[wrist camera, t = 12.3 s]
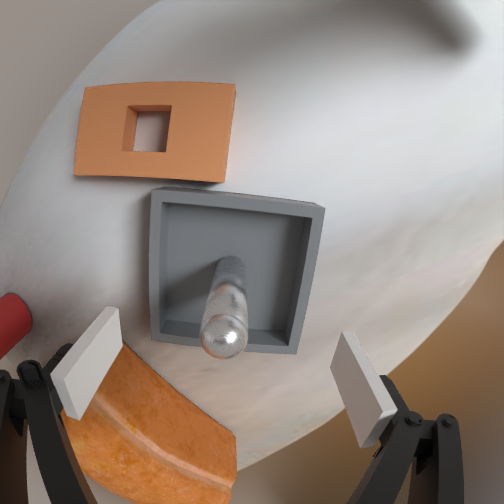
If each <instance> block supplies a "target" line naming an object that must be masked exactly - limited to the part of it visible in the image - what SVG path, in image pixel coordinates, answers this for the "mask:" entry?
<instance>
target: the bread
mask: <svg viewBox="0 0 504 504" xmlns="http://www.w3.org/2000/svg"><path fill="white" fill-rule="evenodd" d="M122 344H123V346H122V348H121V350H120V351H119V353H118V355H117V356H116V358H115V360H114V361H113V363H112V365H111V366H110V368H109V370H108V371H107V373H106V375H105V377H104V378H103V380H102V382H101V383H100V385H99V387H98V389H97V390H96V392H95V394H94V396H93V398H92V399H91V401H90V403H89V405H88V407H87V408H86V410H85V412H84V414H83V416H82V418H81V419H80V420H77V419H74V418H72V417H69V416H67V415H66V413H65V410H64V408H63V410H62V411H61V413H60V414H61V416H62V419H63V422H64V425H65V428H66V431H67V434H68V437H69V440H70V443H71V445H72V448H73V451H74V453H75V456H76V458H77V461H78V463H79V465H80V468H81V470H82V472H83V473H84V474H85V475H87V476H88V477H89V478H91V479H92V480H94V481H95V482H97V483H98V484H100V485H102V486H103V487H104V488H106V489H108V490H109V491H111V492H113V493H114V494H116V495H118V496H120V497H122V498H124V499H127V500H129V501H131V502H133V503H135V504H228V502H229V501H230V499H231V487H232V485H233V483H234V481H235V479H236V474H237V460H236V437H235V436H234V435H233V434H232V432H231V431H229V430H228V429H226V428H225V427H223V426H222V425H220V424H219V423H218V422H216V421H215V420H214V419H212V418H211V417H210V416H209V415H207V414H206V413H205V412H203V411H202V410H201V409H199V408H198V407H197V406H195V405H194V404H193V403H192V402H190V401H189V400H188V399H187V398H185V397H184V396H183V395H182V394H180V393H179V392H178V391H177V390H176V389H174V388H173V387H172V386H171V385H170V384H169V383H167V382H166V381H165V380H164V379H163V378H162V377H161V376H159V375H158V374H157V373H156V372H155V371H154V370H153V369H152V368H150V367H149V366H148V365H147V364H146V363H145V362H144V361H143V360H142V359H141V358H139V357H138V356H137V355H136V354H135V353H134V352H133V351H132V350H131V349H130V348H129V347H128V346H127V345H125V344H124V343H123V342H122Z"/></svg>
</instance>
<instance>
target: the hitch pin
mask: <svg viewBox="0 0 504 504" xmlns="http://www.w3.org/2000/svg"><path fill="white" fill-rule="evenodd" d="M199 339H200V343H201V345H202V347H203V349H204V350H205V351H206V352H207V353H208V354H209V355H211V356H212V357H214V358H217V359H231V358H234V357H236V356H238V355H239V354H240V353H241V352H242V351H243V350H244V349H245V347H246V345H247V342H248V314H247V291H246V268H245V265H244V263H243V261H242V260H241V259H240V258H238V257H236V256H225V257H223V258H221V259H220V260H219V261H218V262H217V264H216V268H215V271H214V275H213V279H212V283H211V287H210V291H209V295H208V299H207V303H206V307H205V311H204V315H203V319H202V323H201V327H200V332H199Z"/></svg>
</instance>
